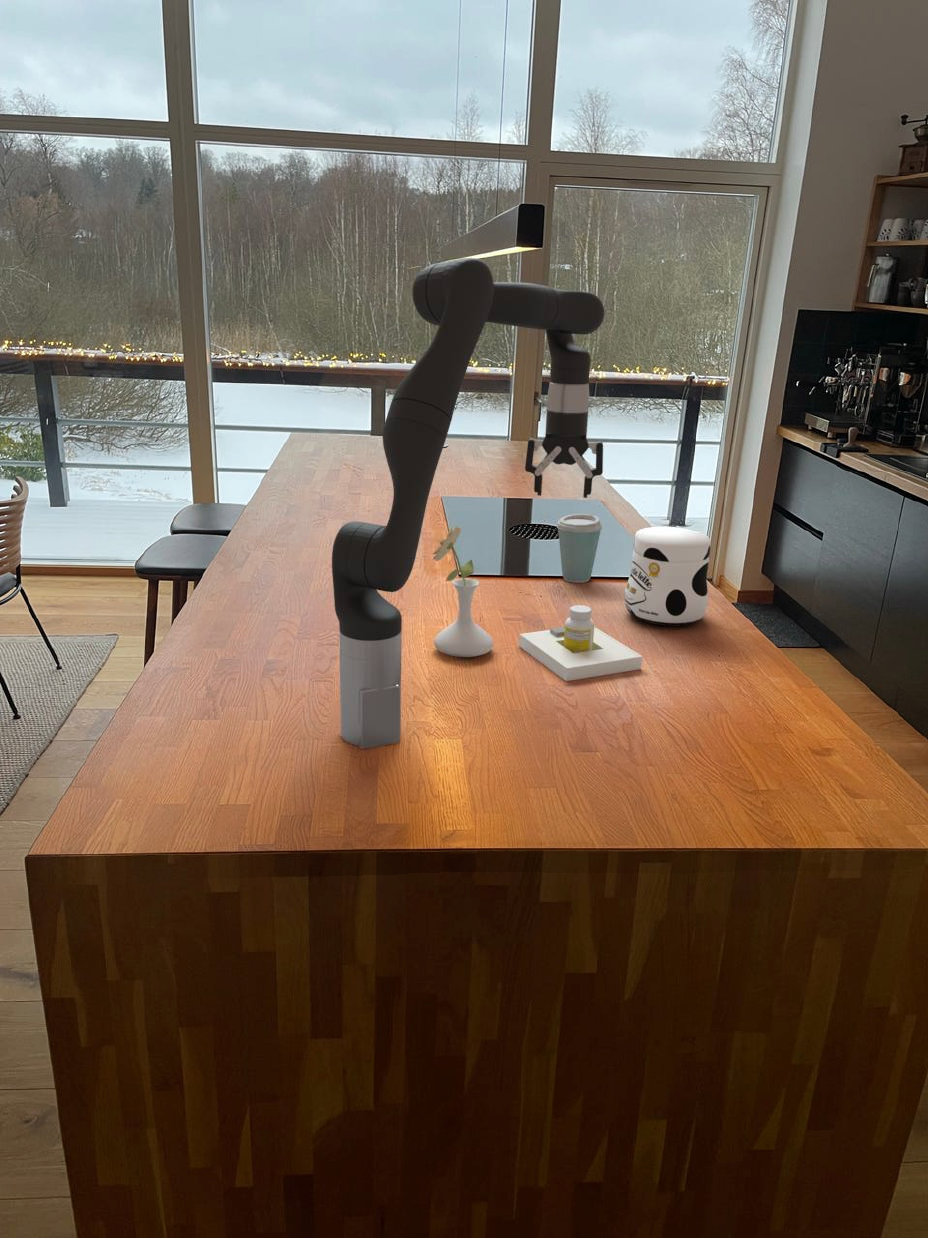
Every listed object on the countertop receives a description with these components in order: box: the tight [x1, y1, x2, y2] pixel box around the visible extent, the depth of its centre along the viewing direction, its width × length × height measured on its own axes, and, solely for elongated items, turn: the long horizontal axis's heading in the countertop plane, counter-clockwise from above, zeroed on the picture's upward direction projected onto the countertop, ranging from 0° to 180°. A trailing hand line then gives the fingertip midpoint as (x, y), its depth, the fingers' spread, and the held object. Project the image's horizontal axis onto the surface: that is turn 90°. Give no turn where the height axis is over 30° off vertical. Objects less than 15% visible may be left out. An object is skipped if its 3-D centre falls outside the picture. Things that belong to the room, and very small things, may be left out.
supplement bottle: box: [564, 604, 595, 653], centre depth 177 cm, size 5×5×10 cm
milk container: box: [624, 526, 711, 627], centre depth 199 cm, size 17×17×18 cm
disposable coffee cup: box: [556, 513, 603, 584], centre depth 223 cm, size 11×11×15 cm
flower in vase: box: [432, 525, 495, 658], centre depth 175 cm, size 13×11×25 cm
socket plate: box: [518, 626, 643, 682], centre depth 178 cm, size 18×16×3 cm
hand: (562, 495), depth 177 cm, fingers open, 8 cm apart
